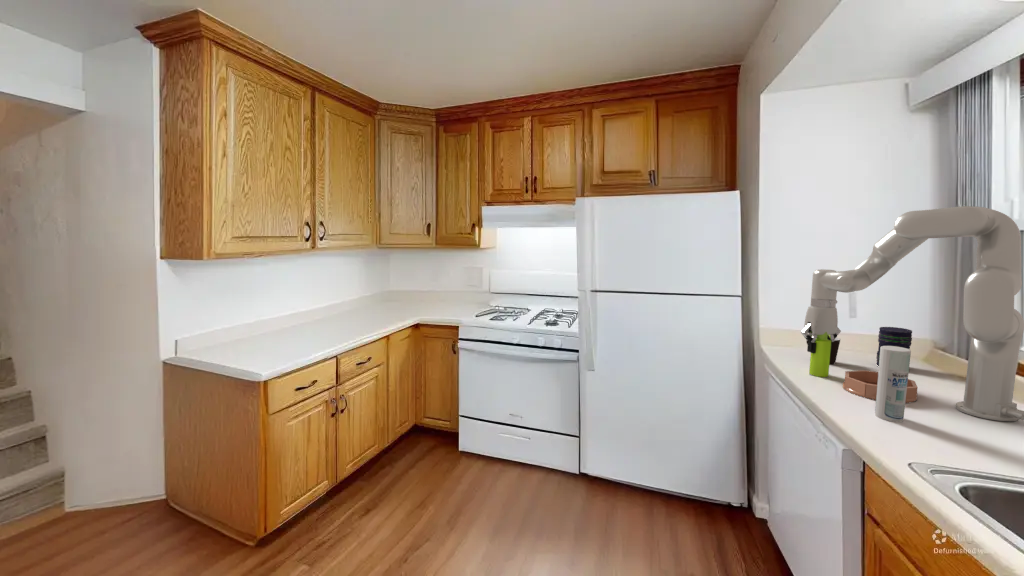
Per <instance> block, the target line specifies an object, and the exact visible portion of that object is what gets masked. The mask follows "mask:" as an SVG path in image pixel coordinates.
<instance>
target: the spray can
mask: <svg viewBox="0 0 1024 576" xmlns="http://www.w3.org/2000/svg"><path fill="white" fill-rule="evenodd" d="M911 354H912V351H911V349H910V350H909V349H907V348H903V347H897V346H881V347H880V358H879V367H878V371H877V372H878V383H877V395H876V400H875V409H874V413H875V416H876V417H877V418H879V419H881V420H884V421H888V422H894V423H896V422H897V423H901V422H903V421H904V418H905V409H906V403H905V401H906V392H907V383H908V379H909V371H910V362H911Z"/></svg>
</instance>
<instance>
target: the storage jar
mask: <svg viewBox="0 0 1024 576" xmlns="http://www.w3.org/2000/svg"><path fill="white" fill-rule="evenodd" d="M912 336H913V330H912V329H909V328H908V329H907V328H904V327H896V326H895V327H894V326H880V327H879V331H878V338H877V342H878V350H877V351H876V363H875V365H876V364H877V365H878V366H879V358H880V347H881V346H897V347H903V348H907V349H909V350H911V346H912V341H913V337H912ZM878 366H877V367H878Z"/></svg>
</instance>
